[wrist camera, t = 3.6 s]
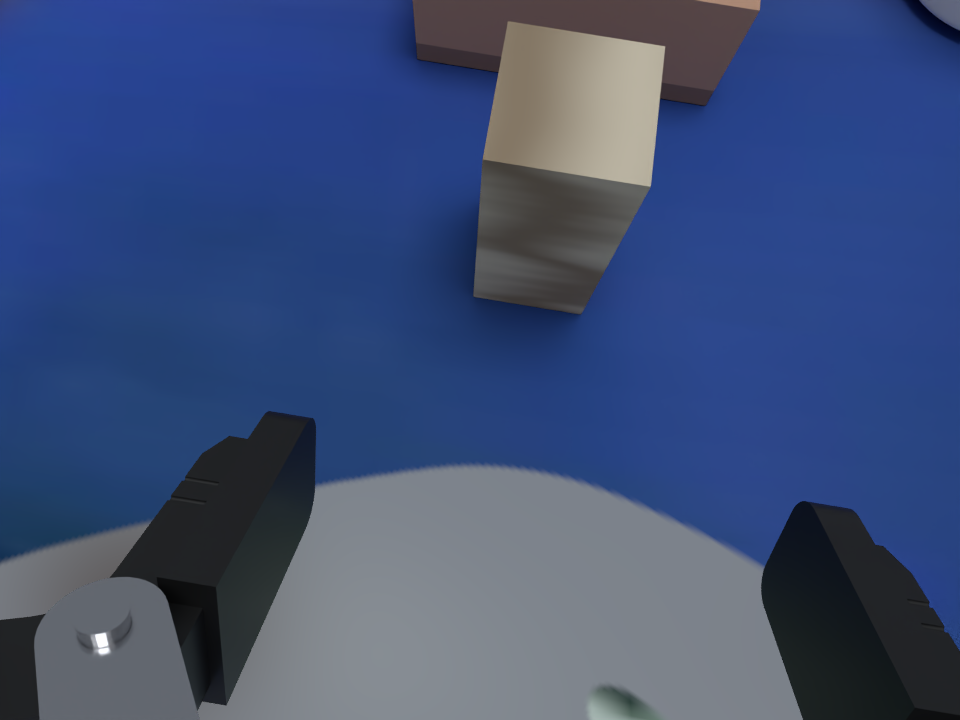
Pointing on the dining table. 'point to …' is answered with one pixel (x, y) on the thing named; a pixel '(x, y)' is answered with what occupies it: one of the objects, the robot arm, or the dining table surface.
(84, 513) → the dining table surface
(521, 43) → the post
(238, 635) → the robot arm
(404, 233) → the dining table surface
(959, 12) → the beverage can
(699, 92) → the well
